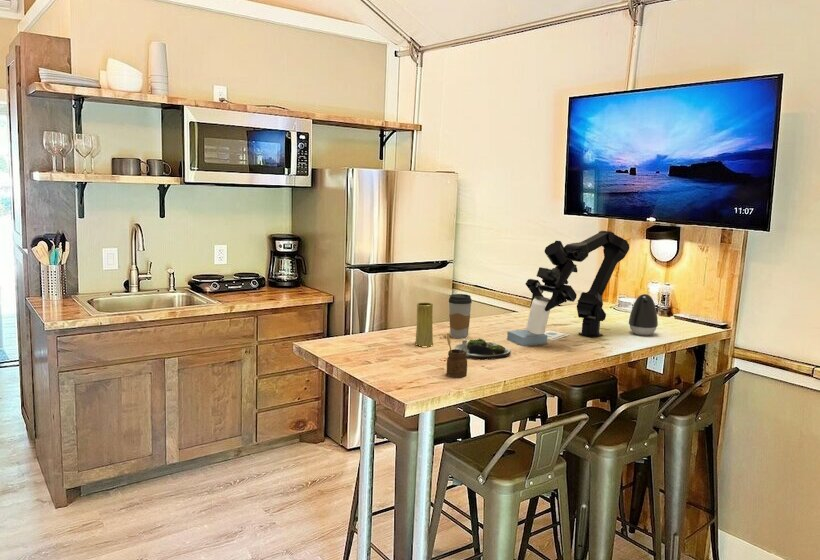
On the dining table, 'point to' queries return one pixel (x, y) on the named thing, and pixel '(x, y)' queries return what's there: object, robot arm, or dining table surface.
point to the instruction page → (554, 335)
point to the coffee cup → (459, 315)
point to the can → (538, 316)
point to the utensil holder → (456, 361)
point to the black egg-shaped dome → (643, 316)
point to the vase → (424, 324)
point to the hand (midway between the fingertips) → (538, 308)
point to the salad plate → (483, 349)
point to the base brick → (526, 338)
